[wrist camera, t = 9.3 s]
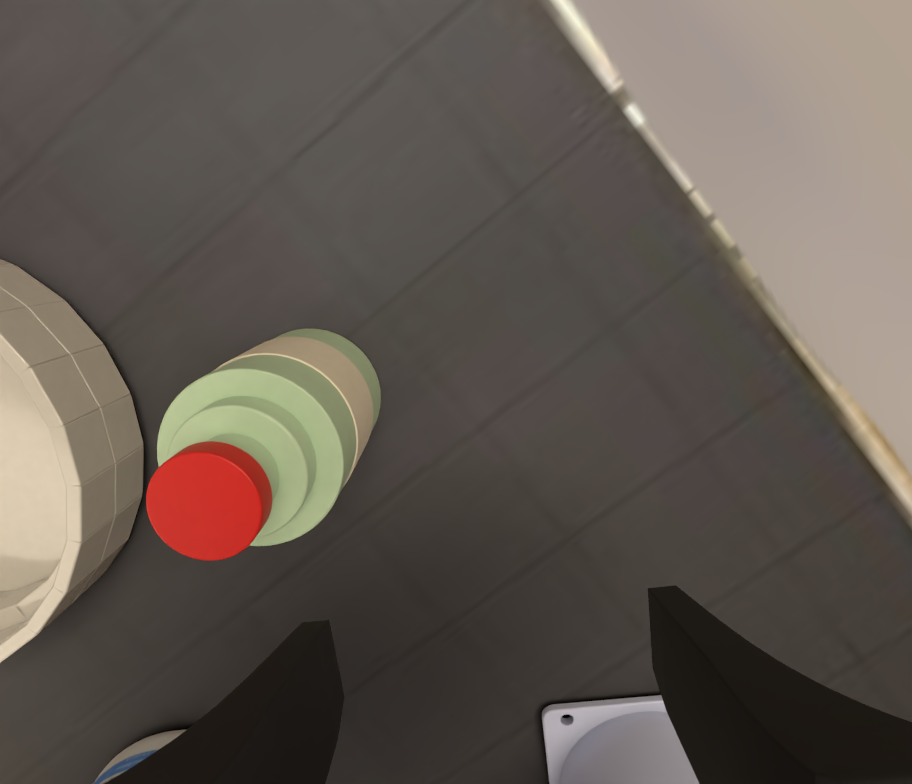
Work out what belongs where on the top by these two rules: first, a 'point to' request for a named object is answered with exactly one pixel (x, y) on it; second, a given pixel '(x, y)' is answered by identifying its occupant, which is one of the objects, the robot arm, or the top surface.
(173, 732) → the supplement tub
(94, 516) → the pan
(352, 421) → the bottle
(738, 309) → the top surface
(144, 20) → the top surface
